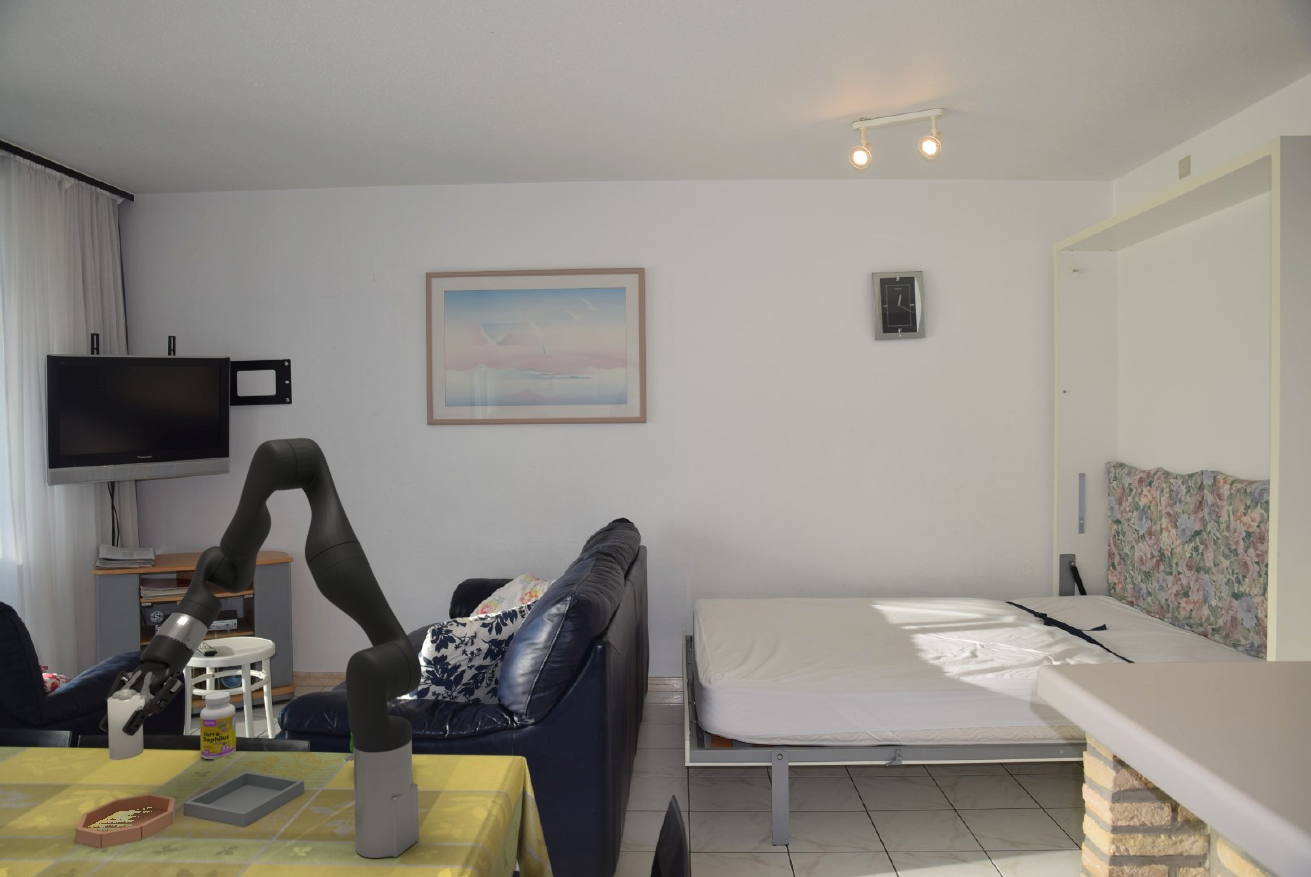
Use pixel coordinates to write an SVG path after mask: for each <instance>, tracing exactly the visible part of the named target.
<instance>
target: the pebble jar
mask: <svg viewBox="0 0 1311 877" xmlns="http://www.w3.org/2000/svg"><path fill="white" fill-rule="evenodd" d="M140 700H141V696H140V693H139V692H136V691H135V690H132V689H130V690H129V689H124V690H122V691H117V692H115V693H114V694H113V696H112V697H110V698H108V702H107V711H108V731H109V732H108V756H109V757H108V758H109V759H110V760H112V761H113V760H114V761H122V760H129V759H133V758H135V757H137V756H140V755H142V754H143V752H144V729H143V728H144V727H143V726H144V723H143V724H142V725H141V727H140V728H139V730H138V731H137V732H136V733H135V734H134V735H133V736H130V735H127V734H126V733H124V732H123V731H122V729H123V727H124V726H125V724H126V723H127V721H128V720H129V718H130V717H131V715H132V714H133V712H134V711H135V710H137V711H138V709H137V708H138V705H139V702H140Z"/></svg>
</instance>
